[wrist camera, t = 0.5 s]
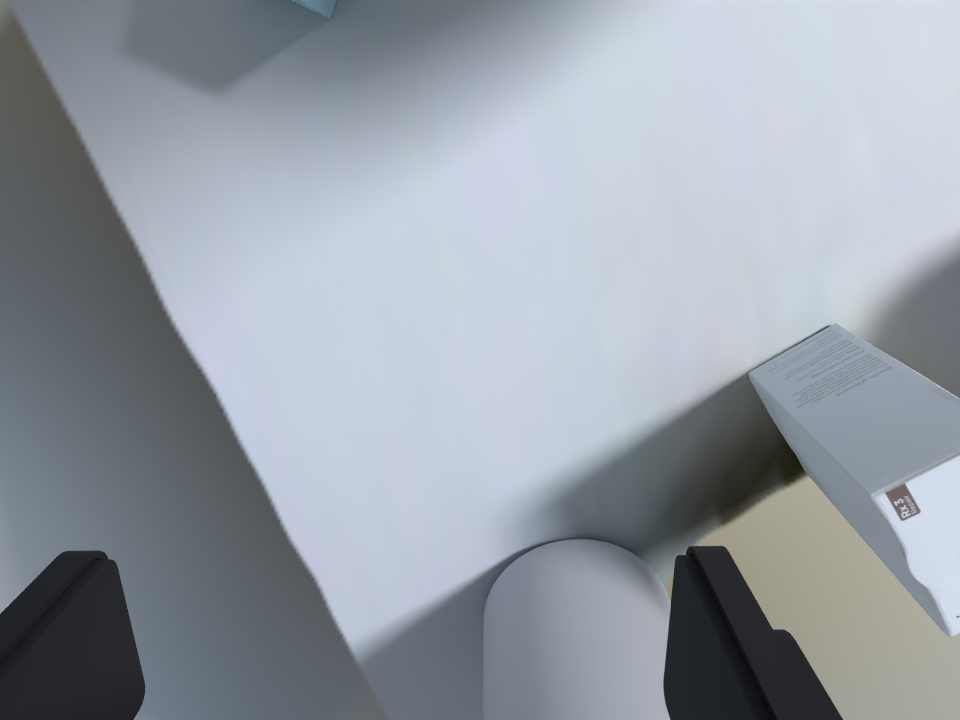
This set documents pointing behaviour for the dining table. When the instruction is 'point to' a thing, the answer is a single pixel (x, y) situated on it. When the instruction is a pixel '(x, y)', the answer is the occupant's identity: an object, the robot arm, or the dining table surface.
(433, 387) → the dining table surface
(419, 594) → the dining table surface
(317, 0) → the teal block
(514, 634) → the cylinder vase
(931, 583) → the skincare box
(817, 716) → the robot arm
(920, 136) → the dining table surface
